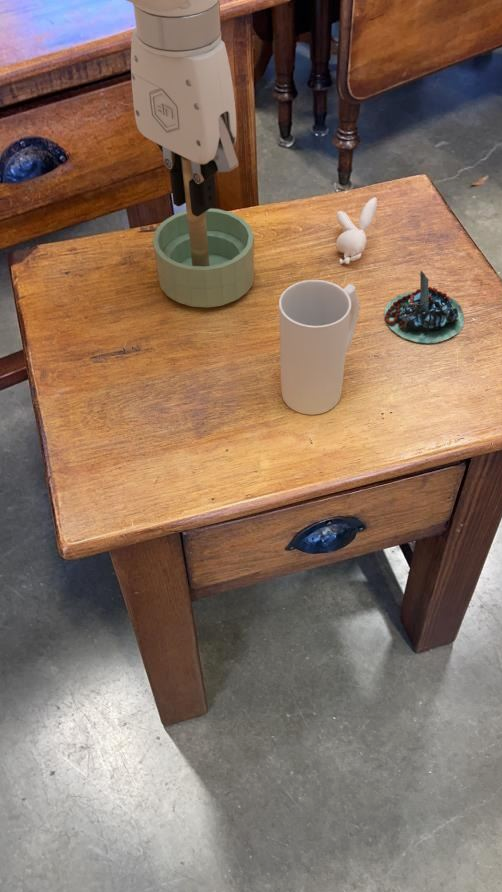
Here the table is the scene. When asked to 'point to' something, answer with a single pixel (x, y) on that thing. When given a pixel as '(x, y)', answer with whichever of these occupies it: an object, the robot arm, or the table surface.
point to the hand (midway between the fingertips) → (195, 203)
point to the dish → (424, 315)
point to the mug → (315, 343)
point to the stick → (195, 223)
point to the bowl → (226, 258)
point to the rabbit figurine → (355, 232)
